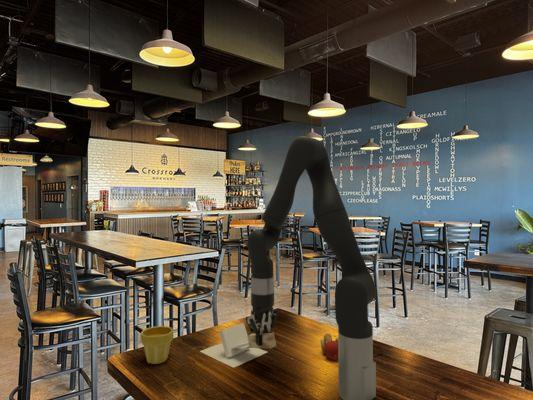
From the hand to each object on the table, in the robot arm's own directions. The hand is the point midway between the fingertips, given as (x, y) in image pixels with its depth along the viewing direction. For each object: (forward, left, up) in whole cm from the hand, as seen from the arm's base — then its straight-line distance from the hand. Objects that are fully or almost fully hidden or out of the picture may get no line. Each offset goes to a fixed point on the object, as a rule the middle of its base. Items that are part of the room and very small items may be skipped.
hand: (262, 343), depth 118 cm
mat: (+14, 0, -7) cm, 16 cm away
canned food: (+17, -17, -7) cm, 25 cm away
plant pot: (+29, +21, -7) cm, 37 cm away
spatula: (+3, 0, -2) cm, 4 cm away
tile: (+11, 0, -6) cm, 13 cm away
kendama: (-10, -25, -8) cm, 28 cm away
